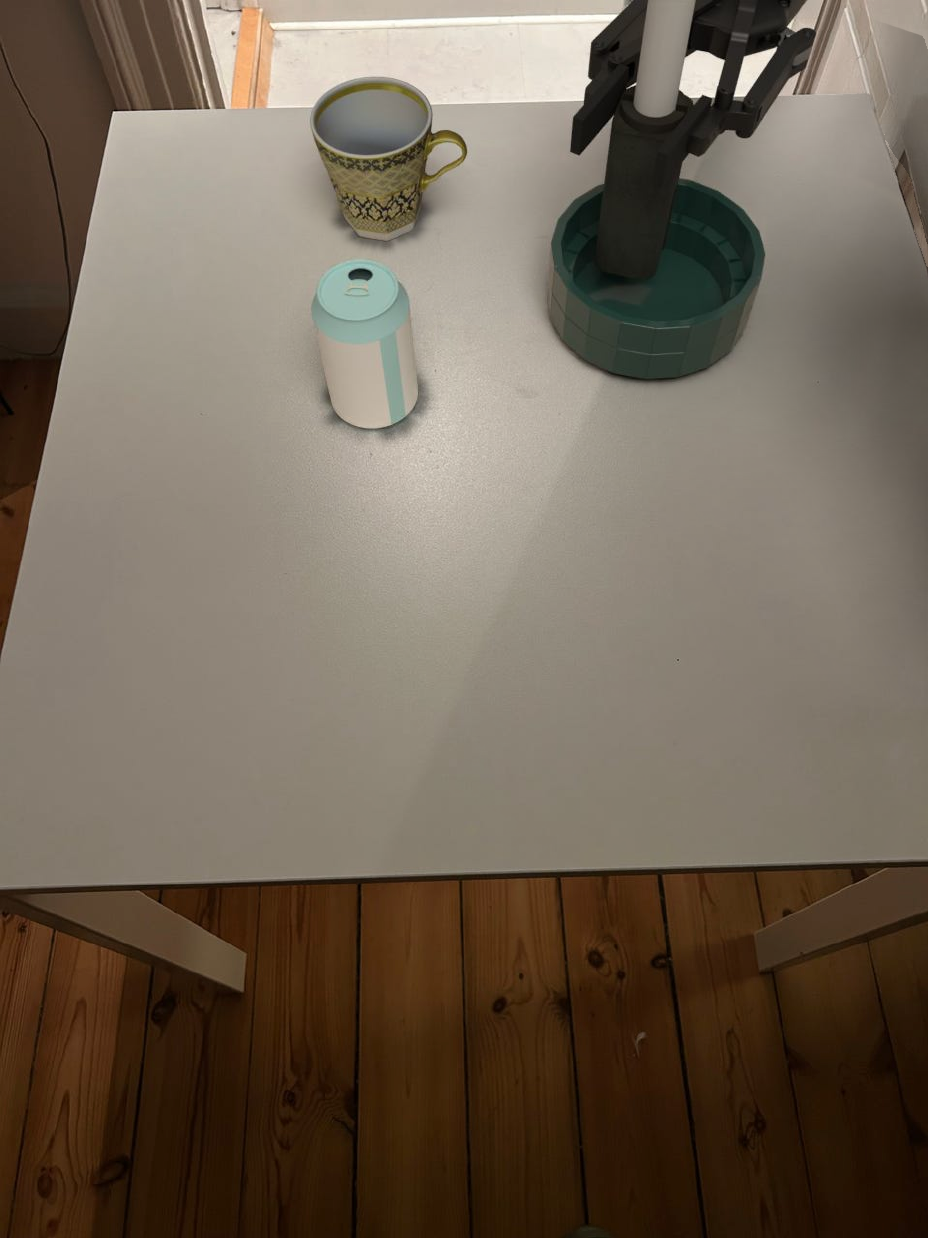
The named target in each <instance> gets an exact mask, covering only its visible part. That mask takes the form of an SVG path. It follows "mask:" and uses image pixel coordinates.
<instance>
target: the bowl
mask: <svg viewBox="0 0 928 1238" xmlns="http://www.w3.org/2000/svg"><path fill="white" fill-rule="evenodd" d="M603 189H604V183H601V184H598V185H595V186H594V187H593V188H591V189H589V190H588V191H586V192H585V193H583V194H581V195H580V196H577V197H576V198H575V199H573V201H572V202H571V203H570V204H569V206H567V208H566V209H565V210H564V212H563V213H562V214H561V215H560V216H559V218H558V219H557V221H556V224H555V227H554V231H553V234H552V237H551V241H550V250H549V263H548V265H549V266H548V278H547V291H546V296H547V305H548V313H549V318H550V321H551V322H552V324H553V326H554V328H555V330H556V331H557V333H558V335H559V336H560V339H561V340H562V341H563V343H565V344H566V345H567V346H568V347H569V348H570V349H571V350H573V351H574V352H575V353H576V354H577V355H578V356H579V357H581V358H582V359H583V360H584V361H586V362H588V363H590V364H593V365H595V366H597V367H598V368H601V369H603V370H606V371H608V372H610V373H612V374H615V375H621V376H627V377H632V378H637V379H642V380H653V379H668V378H669V379H670V378H678V377H682V376H685V375H689V374H692V373H695V372H698V371H701V370H704V369H706V368H709V367H710V366H711V365H713V364H714V363H716V362H717V361H719V360H720V359H721V358H722V357H724V356H725V355H727V354H728V353H730V352H731V351H732V349H733V348H734V347H735V345H736V343H737V342H738V341H739V339H740V337H741V336H742V335H743V333H744V332H745V330H746V326H747V324H748V320H749V317H750V315H751V311H752V308H753V304H754V302H755V299H756V296H757V293H758V289H759V286H760V285H761V280H762V276H763V270H764V266H765V259H766V250H765V247H764V244H763V240H762V235H761V232H760V229H759V228H758V227H757V226H756V224H755V223H754V221H753V220H752V219H751V217H750V216H749V215H748V213H747V212H746V211H745V209H744V208H743V207H741V206H740V205H739V204H737V203H736V202H734V201H733V200H732V199H730V198H729V197H728V196H726V195H725V194H724V193H722V192H721V191H719V190H717V189H714V188H712V187H710V186H707V185H706V184H702V183H700V182H697V181H694V180H692V179H689V178H681V177H679V181H678V186H677V191H676V196H675V201H674V206H673V211H672V216H671V220H670V225H669V230H668V235H667V240H666V245H665V249H664V250H662V251H661V254H660V258H659V263H658V268H657V273H656V274H655V276H654V277H652V278H650V279H648V280H638V279H633V278H629V277H625V276H620V275H616V274H611V273H607V272H604V271H601V270H600V269H598V268H597V267H596V265H595V253H596V245H597V237H598V229H599V221H600V213H601V205H602V197H603Z"/></svg>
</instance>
